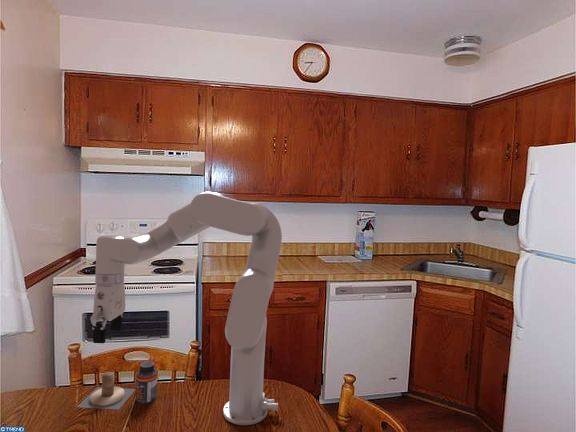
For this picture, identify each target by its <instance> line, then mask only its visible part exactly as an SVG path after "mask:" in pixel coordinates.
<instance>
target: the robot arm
mask: <svg viewBox="0 0 576 432" xmlns="http://www.w3.org/2000/svg"><path fill="white" fill-rule="evenodd" d="M209 228H214V229H217V230H222V231H224V232H229V233H233V234H237V235H239V236H240V235H241V236H245V237H249V236H251V244H250V247H249V250H248V256H247V261H246V265H245V269H244V271H243V273H242V274H241V276H239V278H238V280H236V281H235V284H234V288H233V291H232V295H231V299H230V304H229V308H228V313H227V317H226V321H225V327H224V334H225V338H226V340H227V343H228V344H229V345H230V346H231V347H230V348H231V349H230V374H229V394H228V395H229V396H228V397H229V398H228V399H229V401H228V402H226V403H225V404H224V406H223V408H222V409H223V412H222V414H223V417H224V418H225V420H226V421H227V422H230V423H231V424H234V425H238V426H250V425H251V426H252V425H254V424H255V425H256V424H258V423H261V422H262V421H263V420H264V419H265V418H266V417H267V416H268V411H279V402H275V398H267V397H265V394H266V393H265V392H264V375H265V372H264V371H265V357H266V356H265V355H266V353H265V352H266V338H267V328H268V327H267V326H268V317H267V310H268V306H269V304H270V303H269V301H270V298H271V295H272V293H273V290H274V286H275V285H274V284H275V279H276V278H275V277H276V273H277V269H278V268H277V267H278V264H279V257H280V255H281V254H280V253H281V250H282V249H281V248H282V240H283V239H282V236H283V235H282V229H281V224H280V222H279V220H278V218H277V216H276V215H275V214H274V212H272V211H271V210H270V209H269V208H268V207H266V206H265V205H263V204H261V203H257V202H245V201H242V200H237V199H234V198H229V197H226V196H224V195H223V194H221V193H219V192H216V191H215V192H213V191H204V192H201V193H198V194H196V195H195V196H194V197H193V198H192V200H191V201H190V203H188V204H186V205H184V206H183V207H181V208H179V209H178V210H175V211H173V212H172V213H170V214H169V215H168V217H167V220H166V221H165V222H164V223H163V224H161V225H159V226H158V227H156V228H154V229H152V230H150V231H148V232H147V233H144V234H143V235H142V234H141V235H135V236H131V237H123V236H121V235H116V234H115V235H113V234H112V235H110V234H109V235H108V234H106V235H101V236H99V237H98V238H97V239H96V244H95V245H96V246H95V248H96V249H95V276H94V277H95V279H94V280H95V281H94V284H95V285H96V286H95V291H94V300H93V313H92V315H91V316H90V318H89V320H90V322H91V323H90V325H91V327H92V328H91V329H92V331H93V333H92V342H93V344H105V343H106V336H107V335H106V334H107V333H106V328H105V327H106V324H107V321H108V322H110V330H111V331H115V332H116V331H117V332H121V331H122V330H123V317H124V312H126V311H125V310H126V288H125V265H136V264H139V263H142V262H144V261H147V260H150V259H153V258H154V257H156V256H159V255H160V254H162V253H164V252H166V251H168V250H170V249H172V248H173V247H175V246H176V245H178V244H181V243H184V242H185V241H187V240H189V239H190V238H192V237H194V236H196V235H198V234H200V233H201V232H203V231H205V230H207V229H209ZM101 322H102V323H101Z"/></svg>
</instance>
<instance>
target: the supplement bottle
mask: <svg viewBox="0 0 576 432" xmlns="http://www.w3.org/2000/svg"><path fill="white" fill-rule="evenodd" d="M135 389H136V390H135V398H134V399H135V402H136V403H137V404H148V403H149V404H150V403H152V402H153V401H154V402H155V400H156V399H157V397H158V396H157V395H158V390H157V389H158V370H157V369H156V368H155V362H154V361H151V360H149V361H148V360H147V361H143V362H141V363H140V364H139V370H138V371H137V372H136V374H135Z"/></svg>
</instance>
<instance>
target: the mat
mask: <svg viewBox="0 0 576 432" xmlns="http://www.w3.org/2000/svg"><path fill="white" fill-rule="evenodd" d="M121 388H122V389H124V398H123V399H122V400H121V401H119V402H117V403H115V404H112V405H109V406H95V405H92V404H91V402H90V397H91V395H92V394H93V393H94V392H95V391H97V390H99V389H102V386H97V387H96V388H94V390H93V391H91V392H90V394H88V395H87V396H86V397H85V398H84V399H83V400H82V401H81V402H80V403H79V404H78V405H77V406H76V408H80V409H82V408H83V409H96V410H97V409H101V410H114V411H115V410H121V408H122V407H123V405H125V404H126V402H127V401H128V400H129V398H130V397H131V396H132V395H133V393H135V392H136V388H123V387H121Z"/></svg>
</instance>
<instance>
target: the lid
mask: <svg viewBox="0 0 576 432" xmlns="http://www.w3.org/2000/svg"><path fill="white" fill-rule="evenodd" d="M101 387H102V389H99V390H97V391H95V392H94V393H93V394H92V395H91V397H90V402H91V404H92V405H95V406H109V405H112V404H115V403H117V402H119V401H121V400H122V399H123V398H124V389H122V388H123V387H120V386H115V372H114V371H106V372H103V373H102V375H101Z"/></svg>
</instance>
